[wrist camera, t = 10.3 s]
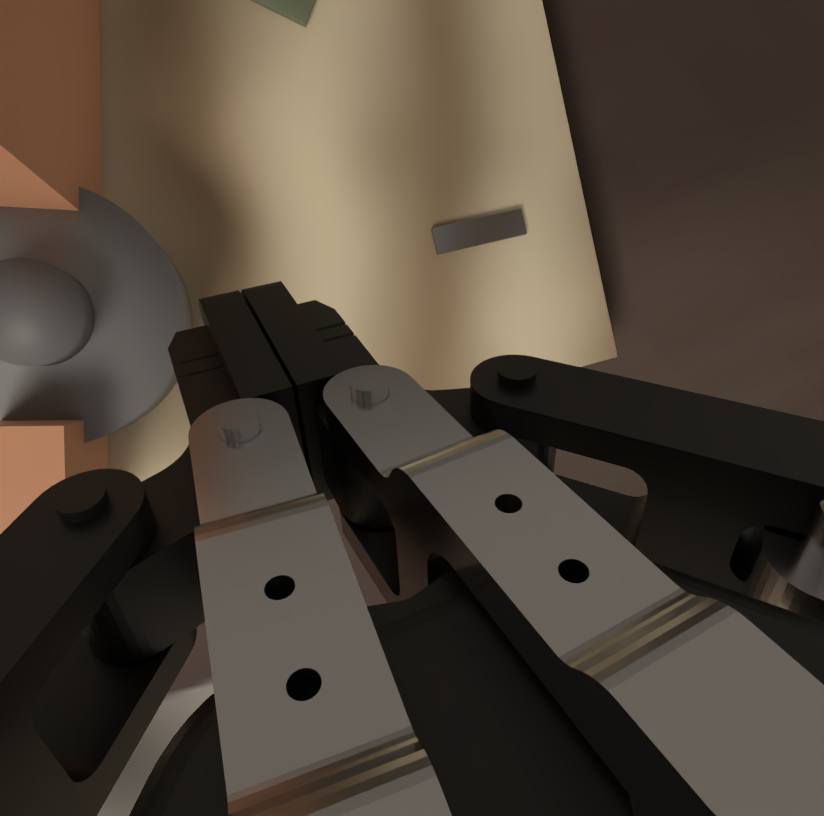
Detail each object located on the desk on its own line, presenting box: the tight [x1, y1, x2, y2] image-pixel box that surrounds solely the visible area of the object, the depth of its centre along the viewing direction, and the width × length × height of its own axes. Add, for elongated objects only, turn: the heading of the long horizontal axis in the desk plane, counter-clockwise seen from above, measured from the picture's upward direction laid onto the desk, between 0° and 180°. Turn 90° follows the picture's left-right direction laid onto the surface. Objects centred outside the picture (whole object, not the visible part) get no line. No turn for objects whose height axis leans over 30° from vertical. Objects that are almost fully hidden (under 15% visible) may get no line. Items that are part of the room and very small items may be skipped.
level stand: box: [99, 0, 617, 482], centre depth 18 cm, size 24×18×6 cm
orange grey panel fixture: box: [0, 0, 193, 534], centre depth 13 cm, size 19×6×9 cm, turn 179°
